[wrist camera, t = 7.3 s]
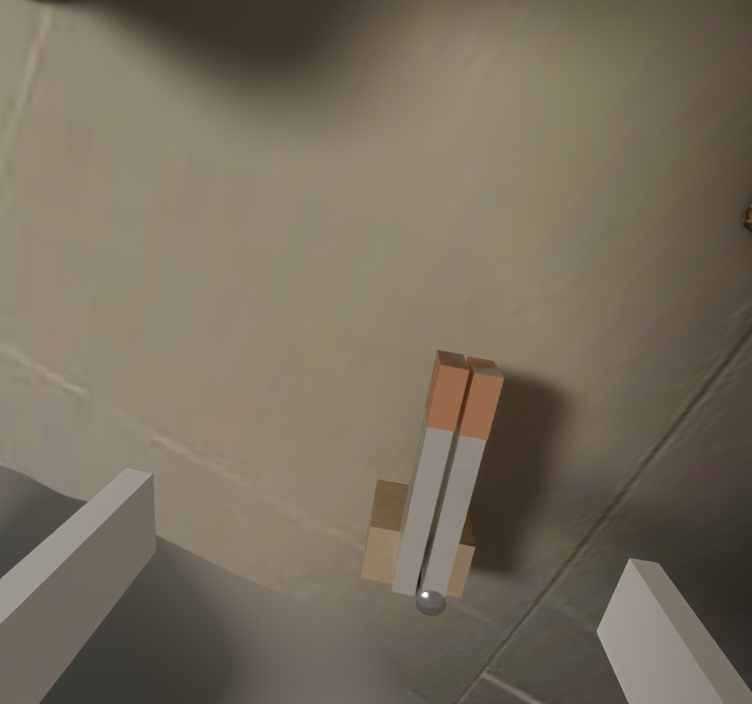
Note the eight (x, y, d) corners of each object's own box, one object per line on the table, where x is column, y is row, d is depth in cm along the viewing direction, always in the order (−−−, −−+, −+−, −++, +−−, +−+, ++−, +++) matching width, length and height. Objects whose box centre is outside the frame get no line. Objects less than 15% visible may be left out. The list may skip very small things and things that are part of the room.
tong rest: (406, 324, 32) (403, 358, 23) (507, 342, 31) (542, 383, 23) (368, 525, 38) (355, 612, 29) (453, 541, 37) (465, 635, 29)
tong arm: (465, 355, 26) (471, 372, 23) (496, 361, 26) (507, 378, 23) (414, 575, 31) (414, 612, 28) (439, 580, 31) (442, 618, 28)
